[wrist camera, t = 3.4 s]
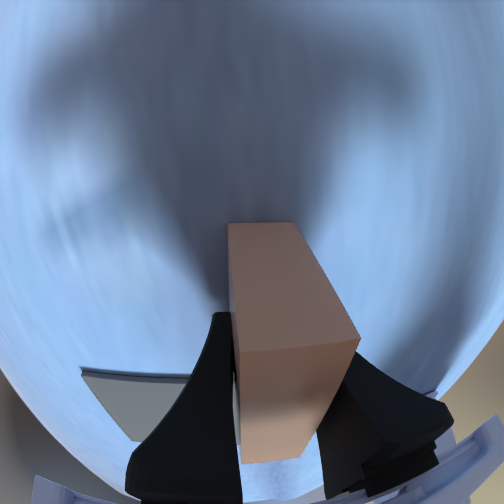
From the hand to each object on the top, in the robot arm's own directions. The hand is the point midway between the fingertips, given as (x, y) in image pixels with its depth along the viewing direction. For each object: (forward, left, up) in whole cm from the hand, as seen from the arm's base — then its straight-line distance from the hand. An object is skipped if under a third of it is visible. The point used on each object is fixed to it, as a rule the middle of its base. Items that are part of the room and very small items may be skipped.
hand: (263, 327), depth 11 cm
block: (0, 0, -1) cm, 1 cm away
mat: (+5, +11, -1) cm, 12 cm away
